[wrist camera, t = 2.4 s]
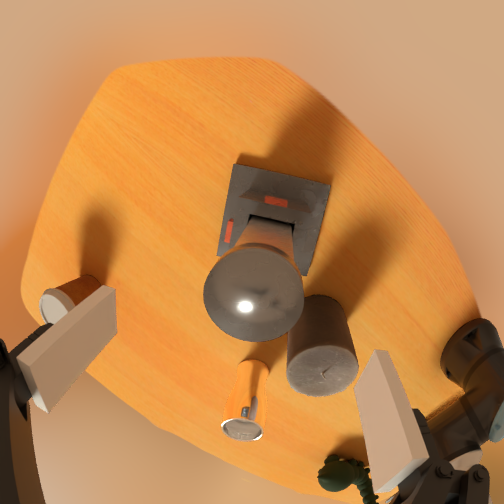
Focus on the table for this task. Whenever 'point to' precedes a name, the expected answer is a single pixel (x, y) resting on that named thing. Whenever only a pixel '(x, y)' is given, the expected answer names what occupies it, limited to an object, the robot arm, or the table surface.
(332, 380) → the pillar candle
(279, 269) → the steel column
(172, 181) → the table surface
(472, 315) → the table surface
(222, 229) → the jack stand
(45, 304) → the disposable coffee cup
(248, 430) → the beer glass
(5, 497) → the robot arm
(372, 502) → the toy figurine
